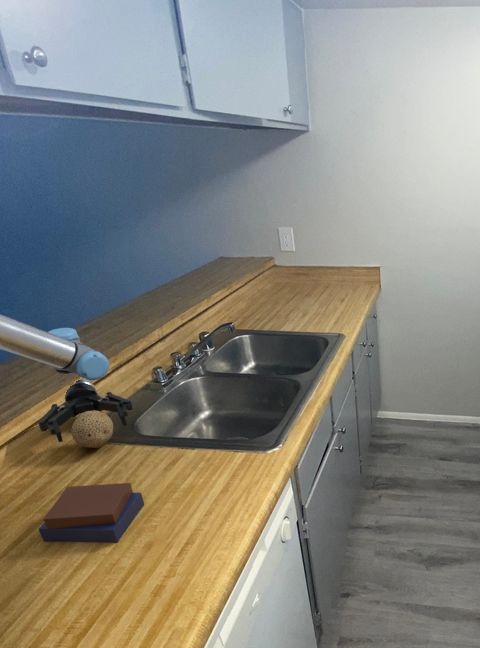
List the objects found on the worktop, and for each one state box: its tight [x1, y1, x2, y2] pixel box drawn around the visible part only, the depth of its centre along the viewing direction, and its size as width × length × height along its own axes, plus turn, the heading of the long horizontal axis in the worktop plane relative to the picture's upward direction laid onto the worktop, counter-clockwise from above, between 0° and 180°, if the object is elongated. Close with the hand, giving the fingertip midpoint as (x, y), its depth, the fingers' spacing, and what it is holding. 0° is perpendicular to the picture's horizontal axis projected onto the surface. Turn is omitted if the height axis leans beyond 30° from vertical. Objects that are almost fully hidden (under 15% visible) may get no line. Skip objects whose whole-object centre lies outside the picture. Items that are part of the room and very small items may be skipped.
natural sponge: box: [70, 410, 114, 449], centre depth 116 cm, size 9×9×10 cm
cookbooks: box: [38, 482, 145, 543], centre depth 94 cm, size 14×11×6 cm
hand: (92, 428), depth 115 cm, fingers open, 13 cm apart
